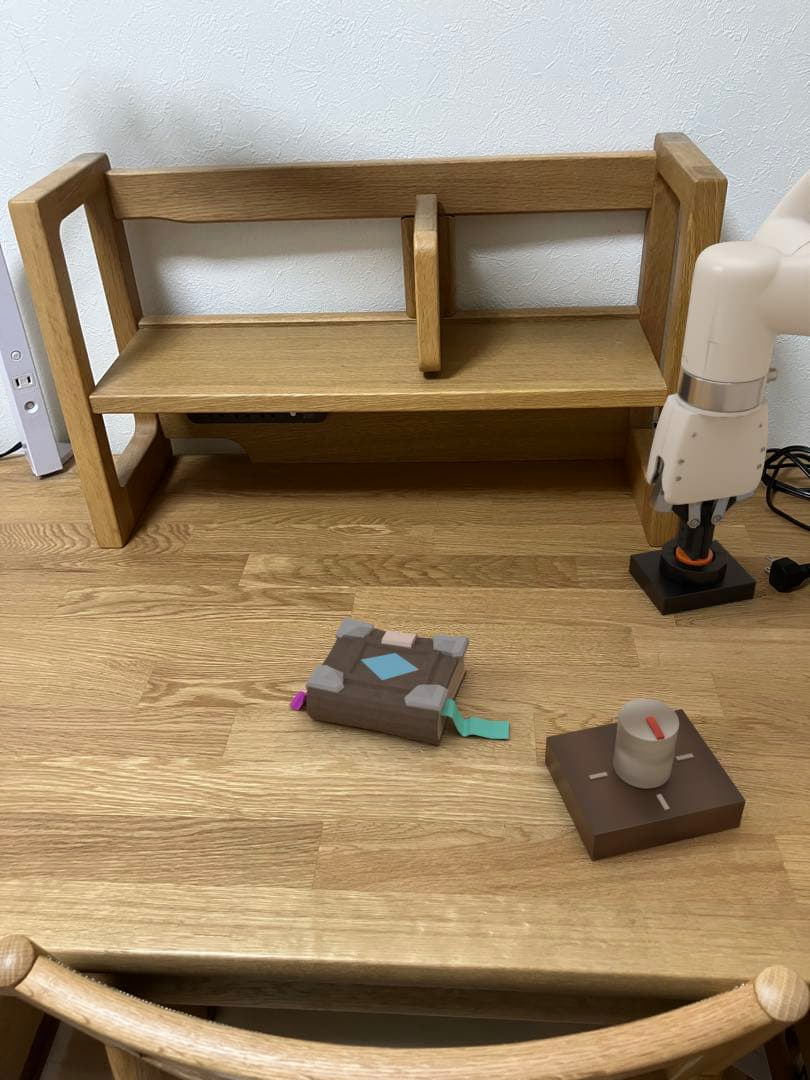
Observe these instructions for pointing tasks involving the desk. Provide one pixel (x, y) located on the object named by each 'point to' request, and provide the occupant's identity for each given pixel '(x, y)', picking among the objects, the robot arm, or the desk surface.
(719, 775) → the panel
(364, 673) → the book
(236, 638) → the desk surface
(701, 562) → the button
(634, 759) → the knob
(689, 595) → the button block
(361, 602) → the desk surface
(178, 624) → the desk surface
